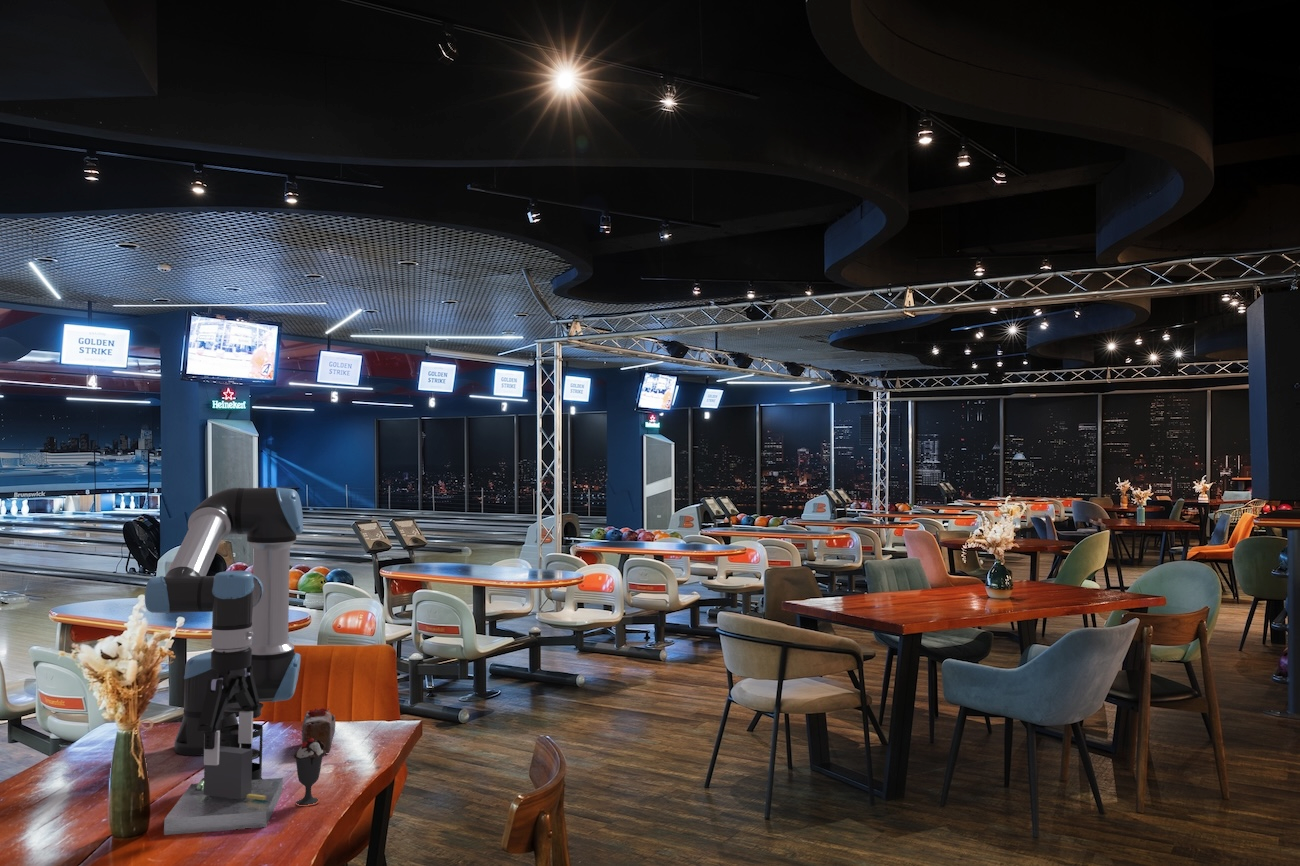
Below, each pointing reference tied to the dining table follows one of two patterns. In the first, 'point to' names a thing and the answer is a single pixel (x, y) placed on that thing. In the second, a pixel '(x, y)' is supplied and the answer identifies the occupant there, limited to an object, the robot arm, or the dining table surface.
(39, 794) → the dining table surface
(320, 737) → the food item
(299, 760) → the sundae
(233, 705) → the french press
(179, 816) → the base
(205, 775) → the dark grey rectangular block
